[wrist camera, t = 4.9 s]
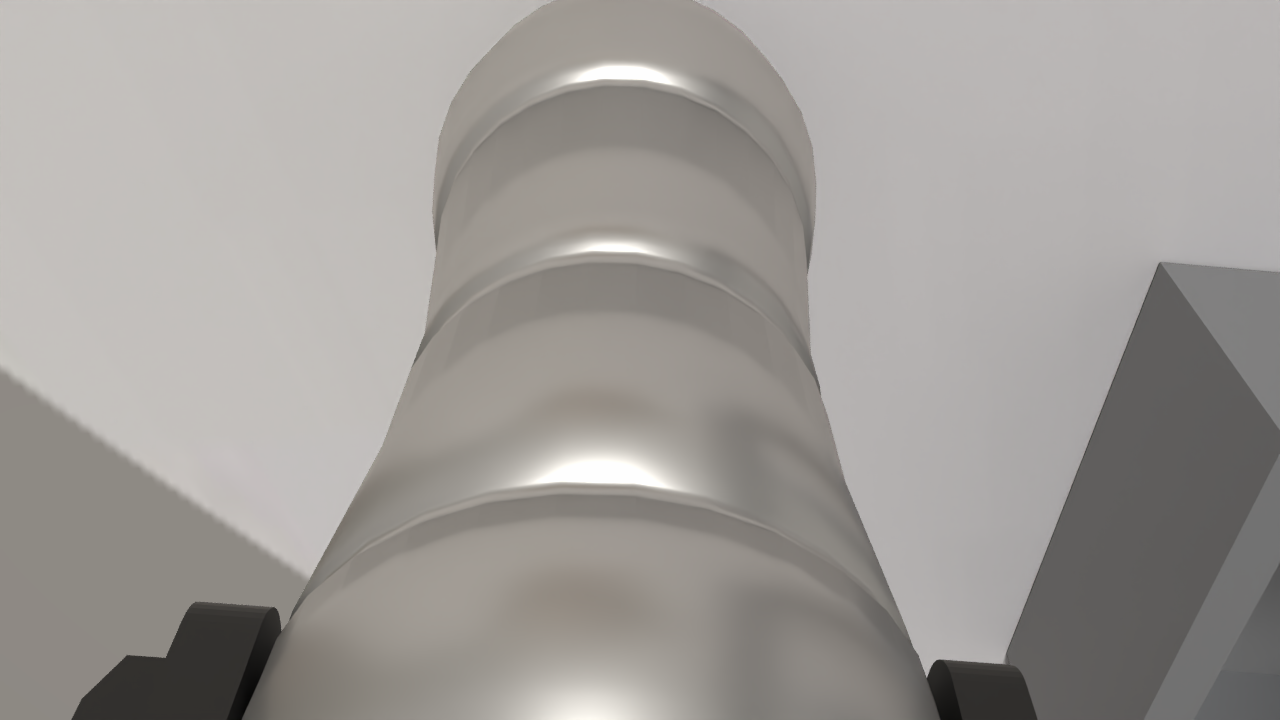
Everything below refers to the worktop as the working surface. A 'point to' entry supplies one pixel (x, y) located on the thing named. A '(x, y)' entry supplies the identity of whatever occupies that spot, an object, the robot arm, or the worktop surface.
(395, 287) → the worktop surface
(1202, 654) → the storage caddy
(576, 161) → the plastic bottle
